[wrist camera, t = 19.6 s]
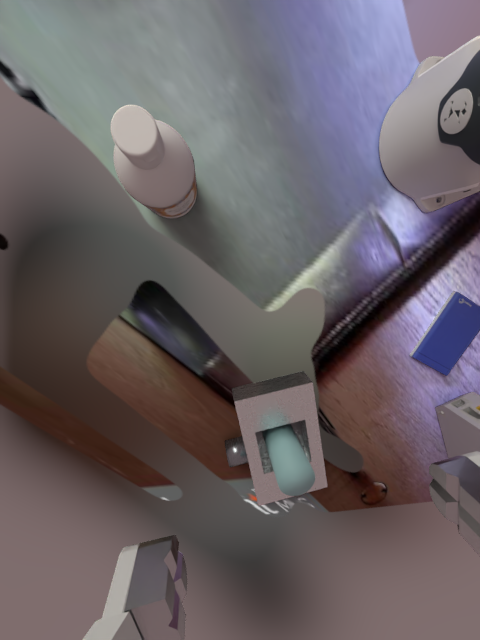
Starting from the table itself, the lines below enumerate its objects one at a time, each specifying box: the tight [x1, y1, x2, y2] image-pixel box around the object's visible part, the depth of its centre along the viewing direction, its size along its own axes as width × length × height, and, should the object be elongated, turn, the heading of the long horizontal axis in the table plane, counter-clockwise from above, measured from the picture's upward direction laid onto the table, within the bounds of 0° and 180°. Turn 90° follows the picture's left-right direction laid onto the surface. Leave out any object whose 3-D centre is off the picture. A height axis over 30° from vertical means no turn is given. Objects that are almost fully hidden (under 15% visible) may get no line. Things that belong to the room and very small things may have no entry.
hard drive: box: [410, 291, 480, 376], centre depth 47 cm, size 2×8×12 cm
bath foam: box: [111, 105, 197, 218], centre depth 27 cm, size 7×7×20 cm
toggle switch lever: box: [263, 424, 315, 497], centre depth 43 cm, size 5×7×10 cm
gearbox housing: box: [225, 371, 327, 506], centre depth 46 cm, size 15×20×4 cm
